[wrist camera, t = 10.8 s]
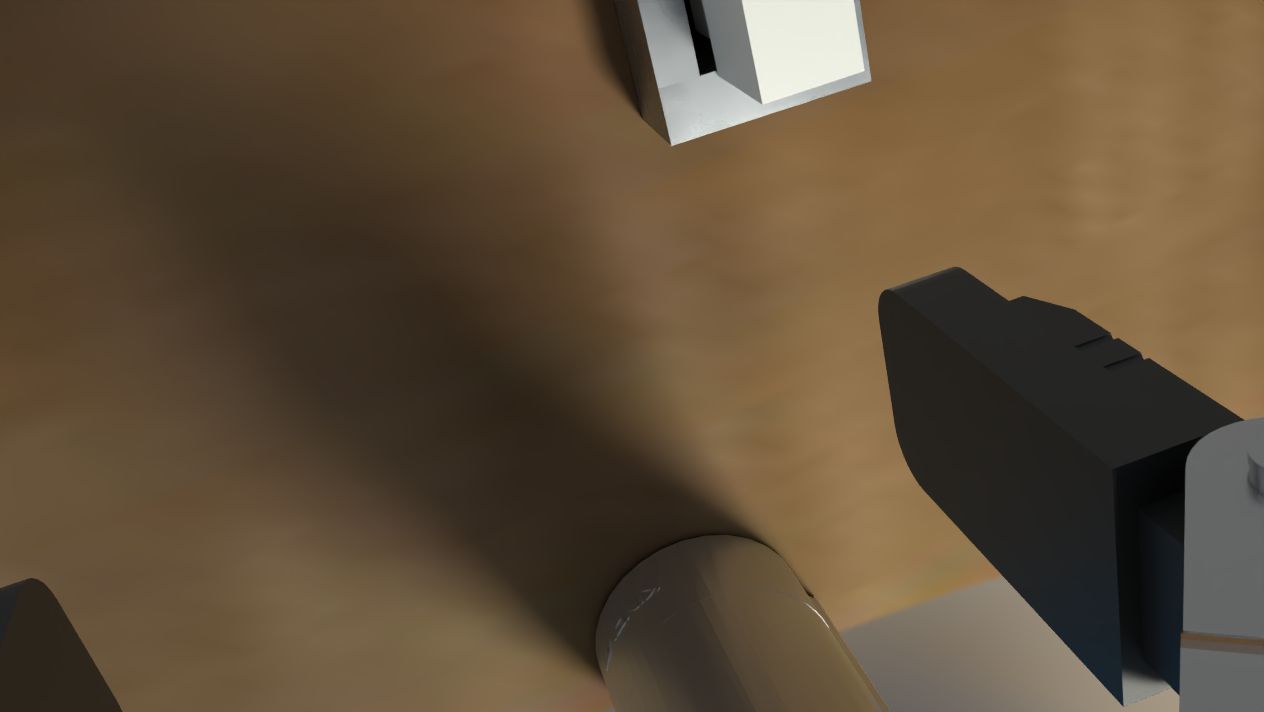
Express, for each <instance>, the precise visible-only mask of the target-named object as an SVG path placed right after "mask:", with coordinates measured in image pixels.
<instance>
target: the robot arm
mask: <svg viewBox="0 0 1264 712" xmlns="http://www.w3.org/2000/svg"><path fill="white" fill-rule="evenodd" d="M878 314H879V322H880V329H881V336H882V342H883V349H884V356H885V362H886V369H887V376H888V382H889V389H890V396H891V402H892V409H893V416H894V422H895V428H896V433H897V437H898V441H899V444H900V447H901V450H902V453H903V455H904V458H905V460H906V462H907V464H908V466H909V468H910V470H911V472H912V474H913V476H914V477H915V479H916V481H917V482H918V483H919V485H920V486H921V487H922V489H923V490H924V491H925V492H926V493H927V494H928V495H929V496H930V497H931V499H932V500H933V501H934V502H935V503H936V504H937V505H938V506H939V507H940V508H941V509H942V510H943V512H944V513H945V514H946V515H947V516H948V517H949V518H950V519H951V520H952V521H953V522H954V523H955V525H956V526H957V527H958V528H959V529H960V530H961V531H962V532H963V533H964V534H965V535H966V537H967V538H968V539H969V540H970V541H971V542H972V543H973V544H974V545H975V546H976V547H977V548H978V550H979V551H980V552H981V553H982V554H983V555H984V556H985V557H986V558H987V559H988V560H989V561H990V563H991V564H992V565H993V566H994V567H995V568H996V569H997V570H998V571H999V572H1000V573H1001V575H1002V576H1003V577H1004V578H1005V579H1006V580H1007V581H1008V582H1009V583H1010V584H1011V585H1012V586H1013V587H1014V589H1015V590H1016V591H1017V592H1018V593H1019V594H1020V595H1021V596H1022V597H1023V598H1024V599H1025V601H1026V602H1027V603H1028V604H1029V605H1030V606H1031V607H1032V608H1033V609H1034V610H1035V611H1036V612H1037V613H1038V615H1039V616H1040V617H1041V618H1042V619H1043V620H1044V621H1045V622H1046V623H1047V624H1048V626H1049V627H1050V628H1051V629H1052V630H1053V631H1054V632H1055V633H1056V634H1057V635H1058V636H1059V637H1060V638H1061V640H1062V641H1063V642H1064V643H1065V644H1066V645H1067V646H1068V647H1069V648H1070V649H1071V650H1072V651H1073V653H1074V654H1075V655H1076V656H1077V657H1078V658H1079V659H1080V660H1081V661H1082V662H1083V663H1084V665H1086V667H1087V668H1088V669H1089V670H1090V671H1091V672H1092V673H1093V674H1094V675H1095V677H1096V678H1097V679H1098V680H1099V681H1100V682H1101V683H1102V684H1103V685H1104V686H1105V687H1106V688H1107V690H1108V691H1109V692H1110V693H1111V694H1112V695H1113V696H1114V697H1115V698H1116V699H1117V700H1118V701H1119V702H1120V704H1121V705H1122V706H1123V707H1125V706H1128V705H1130V704H1133V703H1135V702H1138V701H1140V700H1143V699H1145V698H1148V697H1150V696H1153V695H1155V694H1158V693H1160V692H1163V691H1165V690H1168V689H1170V688H1172V689H1173V690H1174V691H1176V692H1177V694H1178V695H1179V696H1180V703H1179V704H1180V705H1179V712H1264V417H1263V418H1254V419H1249V420H1243V419H1242V418H1240V417H1239V416H1237V415H1236V414H1234V413H1233V412H1231V411H1230V410H1228V409H1227V408H1225V407H1223V406H1222V405H1220V404H1219V403H1217V402H1216V401H1214V400H1213V399H1211V398H1210V397H1208V396H1207V395H1205V394H1203V393H1202V392H1200V391H1199V390H1197V389H1196V388H1194V387H1193V386H1191V385H1190V384H1188V383H1187V382H1185V381H1184V380H1182V379H1180V378H1179V377H1177V376H1176V375H1174V374H1173V373H1171V372H1170V371H1168V370H1167V369H1165V368H1164V367H1162V366H1160V365H1159V364H1157V363H1156V362H1154V361H1153V360H1151V359H1150V358H1148V359H1145V360H1144V359H1143V358H1142V355H1141V353H1140V352H1139V351H1137V350H1136V349H1134V348H1133V347H1131V346H1130V345H1128V344H1127V343H1125V342H1124V341H1122V340H1120V339H1119V338H1117V339H1114V340H1113V338H1112V336H1111V333H1110V332H1108V331H1107V330H1105V329H1104V328H1102V327H1100V326H1099V325H1097V324H1096V323H1094V322H1093V321H1091V320H1090V319H1088V318H1087V317H1085V316H1084V315H1082V314H1081V313H1079V312H1077V311H1076V310H1074V309H1070V308H1067V307H1063V306H1059V305H1055V304H1052V303H1048V302H1044V301H1040V300H1037V299H1033V298H1029V297H1026V296H1022V297H1019V298H1016V299H1014V300H1011V301H1008V300H1007V299H1005V298H1004V297H1002V296H1001V295H999V294H998V293H997V292H995V291H994V290H992V289H991V288H989V287H988V286H987V285H985V284H984V283H982V282H981V281H979V280H978V279H977V278H975V277H974V276H972V275H971V274H969V273H968V272H967V271H965V270H963V269H962V268H959V267H952V268H949V269H946V270H943V271H940V272H937V273H934V274H931V275H928V276H925V277H922V278H919V279H916V280H913V281H910V282H907V283H905V284H902V285H899V286H896V287H893V288H890V289H887V290H884V291H883V292H882V293H881V295H880V298H879V304H878ZM596 655H597V659H598V663H599V667H600V670H601V673H602V676H603V678H604V681H605V684H606V687H607V689H608V692H609V695H610V698H611V700H612V703H613V706H614V709H615V711H616V712H891V711H890V709H889V708H888V706H887V705H886V703H885V702H884V700H883V699H882V697H881V695H880V694H879V693H878V691H877V690H876V688H875V687H874V685H873V683H872V682H871V680H870V679H869V677H868V676H867V674H866V673H865V671H864V670H863V668H862V667H861V665H860V664H859V662H858V661H857V659H856V658H855V656H854V655H853V653H852V652H851V650H850V649H849V647H848V646H847V644H846V643H845V641H844V640H843V638H842V637H841V635H840V633H839V632H838V630H837V629H836V627H835V626H834V624H833V623H832V621H831V620H830V618H829V617H828V615H827V614H826V612H825V611H824V609H823V608H822V606H821V605H820V603H819V602H818V600H816V599H815V598H812V597H809V596H808V595H807V593H806V592H805V590H804V589H803V587H802V586H801V584H800V583H799V581H798V579H797V578H796V576H795V575H794V573H793V572H792V570H791V569H790V568H789V566H788V565H787V564H786V563H785V561H784V560H783V559H782V558H781V556H779V555H778V554H776V553H775V552H774V551H772V550H771V549H770V548H768V547H767V546H765V545H763V544H760V543H758V542H756V541H753V540H751V539H748V538H743V537H737V536H731V535H709V536H701V537H697V538H692V539H688V540H683V541H680V542H678V543H676V544H673V545H671V546H668V547H666V548H663V549H661V550H659V551H658V552H656V553H655V554H653V555H651V556H650V557H648V558H647V559H645V560H643V561H642V562H640V563H639V564H638V565H637V566H636V567H635V568H634V569H633V570H631V571H630V572H629V573H628V574H627V575H626V576H625V577H624V578H623V579H622V580H621V581H620V583H619V584H618V585H617V587H616V588H615V589H614V590H613V592H612V593H611V594H610V596H609V598H608V600H607V602H606V604H605V606H604V608H603V610H602V612H601V614H600V618H599V622H598V626H597V630H596ZM0 712H122V710H121V708H120V706H119V704H118V702H117V700H116V699H115V697H114V695H113V694H112V692H111V690H110V688H109V687H108V685H107V683H106V682H105V680H104V678H103V677H102V675H101V673H100V672H99V670H98V668H97V666H96V665H95V663H94V661H93V660H92V658H91V656H90V655H89V653H88V651H87V650H86V648H85V646H84V645H83V643H82V641H81V639H80V638H79V636H78V634H77V633H76V631H75V629H74V628H73V626H72V624H71V623H70V621H69V619H68V617H67V616H66V614H65V612H64V611H63V609H62V607H61V606H60V604H59V602H58V601H57V599H56V598H55V596H54V594H53V593H52V592H51V591H50V589H49V588H48V587H47V586H46V585H45V584H44V583H43V582H41V581H39V580H38V579H34V578H29V579H26V580H23V581H20V582H17V583H14V584H12V585H9V586H6V587H3V588H0Z"/></svg>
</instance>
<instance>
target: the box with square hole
mask: <svg viewBox="0 0 1264 712" xmlns="http://www.w3.org/2000/svg"><path fill="white" fill-rule="evenodd" d="M614 3H615V7H616V11H617V15H618V19H619V23H620V28H621V32H622V36H623V40H624V44H625V48H626V52H627V56H628V60H629V65H630V69H631V73H632V77H633V81H634V85H635V89H636V93H637V97H638V101H639V106H640V110H641V114H642V118H643V120H644V121H645V122H646V123H647V124H648V125H649V126H650V127H652V128H653V129H654V130H655V131H656V132H657V133H658V134H659V135H660V136H661V137H663V138H664V139H665V140H666V141H667V142H668V143H669V144H670V145H671V146H673V145H676V144H679V143H682V142H685V141H688V140H691V139H694V138H697V137H700V136H703V135H706V134H710V133H713V132H716V131H719V130H722V129H725V128H728V127H731V126H734V125H737V124H740V123H743V122H746V121H750V120H753V119H756V118H759V117H762V116H765V115H768V114H771V113H774V112H777V111H780V110H783V109H787V108H790V107H793V106H796V105H799V104H802V103H805V102H808V101H811V100H814V99H817V98H820V97H823V96H827V95H830V94H833V93H836V92H839V91H842V90H845V89H848V88H851V87H854V86H857V85H860V84H863V83H867V82H870V81H871V75H870V68H869V61H868V55H867V48H866V41H865V34H864V27H863V21H862V14H861V7H860V0H854V5H855V12H856V18H857V25H858V31H859V37H860V44H861V50H862V57H863V63H864V70H865V71H863V72H860V73H857V74H854V75H851V76H848V77H845V78H842V79H839V80H836V81H833V82H830V83H827V84H824V85H821V86H818V87H815V88H812V89H809V90H806V91H803V92H800V93H797V94H794V95H791V96H788V97H785V98H782V99H779V100H776V101H773V102H770V103H766V104H763V105H762V104H761V103H759V102H758V101H756V100H755V99H753V98H751V97H750V96H748V95H747V94H745V93H744V92H742V91H741V90H739V89H738V88H736V87H735V86H733V85H732V84H730V83H728V82H727V81H725V80H724V79H722V78H721V77H719V76H718V72H717V68H716V63H715V58H714V54H713V49H712V44H711V41H710V42H707V43H704V44H701V45H697V46H693V41H692V37H691V32H690V27H689V23H688V18H687V13H686V9H685V4H684V0H614Z"/></svg>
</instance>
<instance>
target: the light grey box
mask: <svg viewBox="0 0 1264 712" xmlns="http://www.w3.org/2000/svg"><path fill="white" fill-rule="evenodd" d="M689 1H690V6H691V10H692V15H693V20H694V24H695V29H696V31H697V32H699V33H701V34H702V35H704V36H706V37H708V38H709V39H710V40H711V44H712V49H713V54H714V58H715V63H716V68H717V72H718V76H719V77H721V78H722V79H724V80H725V81H727V82H728V83H730V84H732V85H733V86H735V87H736V88H738V89H739V90H741V91H742V92H744V93H745V94H747V95H748V96H750V97H751V98H753V99H755V100H756V101H758V102H759V103H761V104H762V105H763V104H766V103H770V102H773V101H776V100H779V99H782V98H785V97H788V96H791V95H794V94H797V93H800V92H803V91H806V90H809V89H812V88H815V87H818V86H821V85H824V84H827V83H830V82H833V81H836V80H839V79H842V78H845V77H848V76H851V75H854V74H857V73H860V72H863V71H865V70H864V63H863V57H862V50H861V44H860V37H859V31H858V25H857V18H856V12H855V5H854V0H689Z"/></svg>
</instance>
